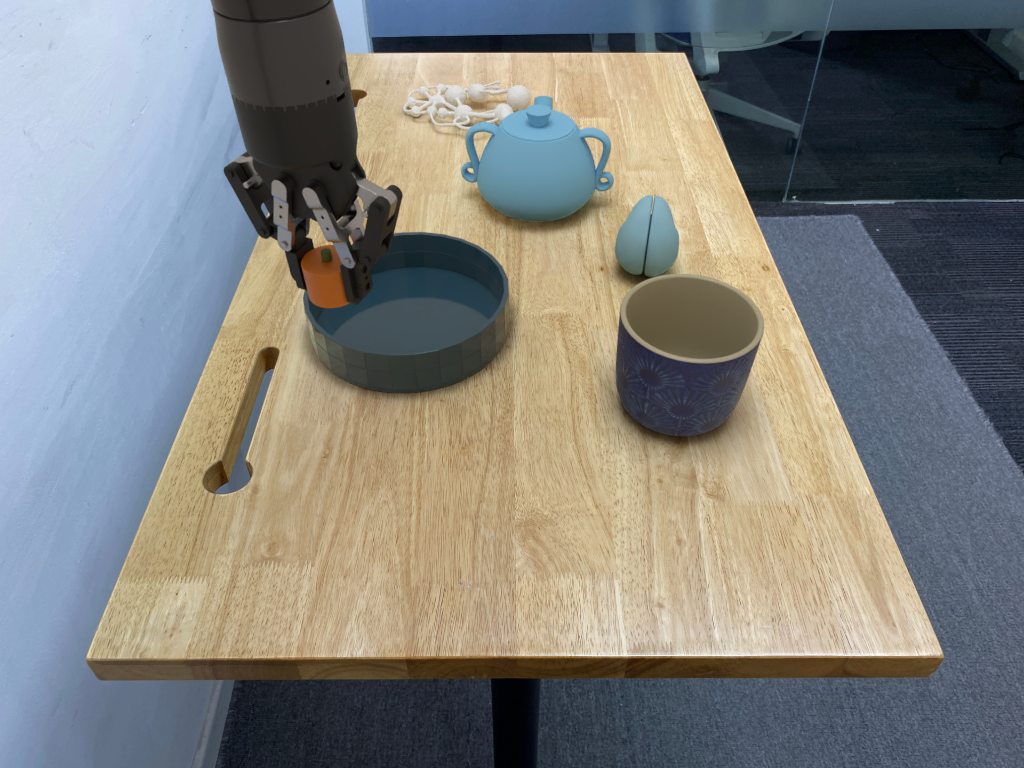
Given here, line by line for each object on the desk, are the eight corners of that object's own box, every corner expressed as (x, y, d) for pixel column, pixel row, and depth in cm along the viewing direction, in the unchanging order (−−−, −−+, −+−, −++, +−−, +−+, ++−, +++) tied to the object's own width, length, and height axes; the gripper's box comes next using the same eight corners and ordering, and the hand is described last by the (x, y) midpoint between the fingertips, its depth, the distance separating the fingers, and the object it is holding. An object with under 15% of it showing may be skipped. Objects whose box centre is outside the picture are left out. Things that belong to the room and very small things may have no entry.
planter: (704, 351, 80) (724, 264, 72) (762, 436, 71) (792, 347, 64) (591, 372, 78) (600, 284, 70) (637, 463, 69) (652, 373, 61)
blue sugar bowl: (452, 227, 97) (446, 132, 88) (475, 153, 111) (473, 65, 103) (609, 238, 95) (620, 142, 87) (613, 161, 110) (622, 72, 101)
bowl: (385, 425, 72) (379, 387, 69) (275, 318, 84) (265, 281, 80) (548, 331, 82) (550, 293, 79) (431, 247, 94) (427, 211, 90)
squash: (325, 315, 59) (316, 273, 56) (299, 291, 61) (288, 249, 59) (369, 294, 61) (362, 252, 58) (342, 271, 63) (334, 229, 60)
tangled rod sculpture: (385, 130, 119) (381, 105, 116) (427, 87, 128) (424, 63, 125) (501, 150, 113) (499, 124, 110) (536, 103, 122) (535, 78, 119)
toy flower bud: (687, 174, 90) (685, 221, 81) (676, 241, 96) (672, 292, 87) (626, 168, 91) (617, 214, 82) (618, 235, 97) (609, 285, 88)
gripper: (159, 81, 49) (231, 296, 61) (353, 120, 45) (388, 343, 57) (235, 38, 53) (287, 246, 66) (415, 71, 49) (435, 285, 61)
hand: (334, 290), depth 61 cm, fingers closed on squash, 4 cm apart
